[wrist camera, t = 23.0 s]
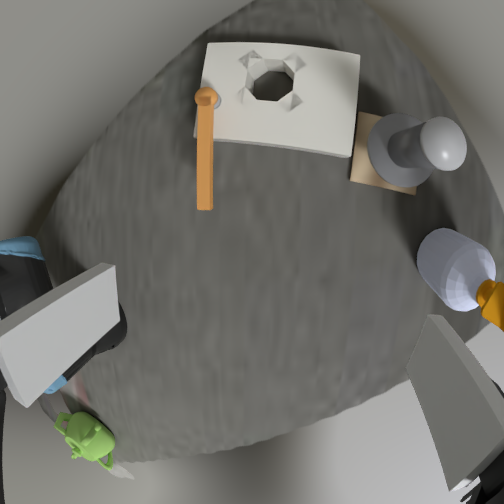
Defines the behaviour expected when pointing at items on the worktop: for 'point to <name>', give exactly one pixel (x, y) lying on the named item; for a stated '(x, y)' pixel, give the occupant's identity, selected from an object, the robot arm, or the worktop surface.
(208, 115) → the clip
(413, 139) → the plug
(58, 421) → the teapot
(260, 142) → the socket block
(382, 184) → the cork mat
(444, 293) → the soap bottle
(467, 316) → the worktop surface
